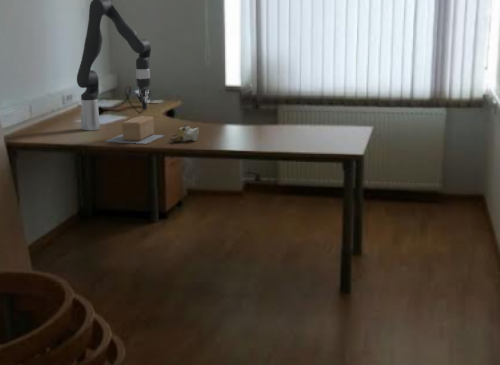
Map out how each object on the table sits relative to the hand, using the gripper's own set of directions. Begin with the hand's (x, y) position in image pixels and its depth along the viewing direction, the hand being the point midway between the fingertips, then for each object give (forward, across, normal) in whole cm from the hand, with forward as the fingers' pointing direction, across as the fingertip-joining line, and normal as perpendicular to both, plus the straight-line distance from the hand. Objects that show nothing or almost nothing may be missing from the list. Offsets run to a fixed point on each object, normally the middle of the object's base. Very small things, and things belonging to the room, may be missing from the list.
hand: (144, 109), depth 427 cm
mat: (+14, +13, 0) cm, 19 cm away
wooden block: (+9, +1, +1) cm, 9 cm away
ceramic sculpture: (+14, +10, +28) cm, 33 cm away
